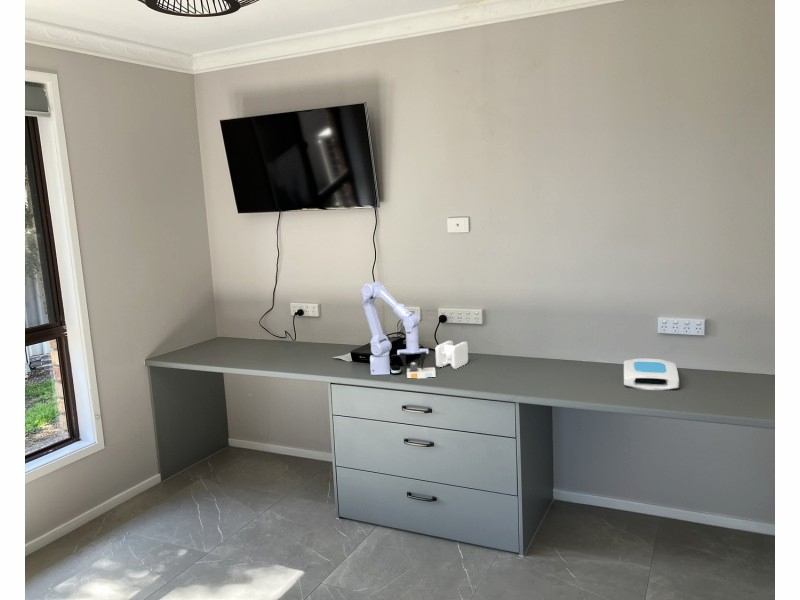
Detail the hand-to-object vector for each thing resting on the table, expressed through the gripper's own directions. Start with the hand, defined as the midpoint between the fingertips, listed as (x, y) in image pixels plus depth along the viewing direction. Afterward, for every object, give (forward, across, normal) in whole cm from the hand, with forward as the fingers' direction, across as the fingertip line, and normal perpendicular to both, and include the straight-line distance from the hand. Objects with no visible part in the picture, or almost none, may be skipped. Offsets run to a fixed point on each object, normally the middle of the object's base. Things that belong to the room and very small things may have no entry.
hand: (413, 368), depth 294 cm
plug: (+4, 0, 0) cm, 4 cm away
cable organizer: (+4, +19, +15) cm, 24 cm away
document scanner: (+4, +102, -21) cm, 104 cm away
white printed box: (+4, +3, 0) cm, 5 cm away
